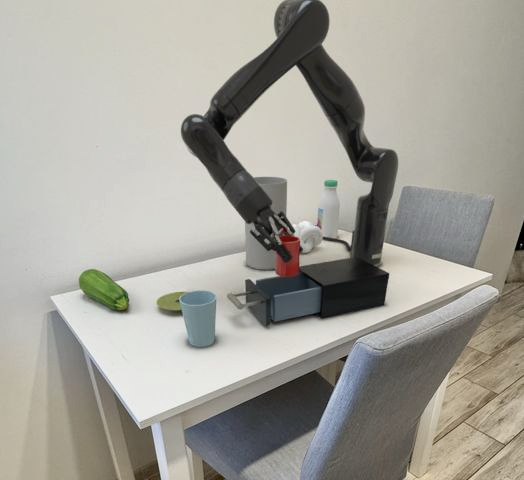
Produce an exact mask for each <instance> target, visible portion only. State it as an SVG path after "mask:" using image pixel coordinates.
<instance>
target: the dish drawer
mask: <svg viewBox="0 0 524 480" xmlns="http://www.w3.org/2000/svg"><path fill="white" fill-rule="evenodd" d="M321 293H322V287H320V286H319V285H317V284H316V283H315V282H313V281H312V280H310V279H309V278H307V277H306V276H304V275H303V274H302V273H299V274H298V275H296V276H293V277H282V276H278V275H277V276H272V277H271V276H270V277H265V278H260V279H255V283H254V282H253V281H252V280H251V279H249V278H248V279H245V280H244V291H242V292H238V293H232V292H228V293H227V295H226V298H227V299H228V300H229V302H231V303H232V304H233V305H234V306H235V308H236V309H237V310H239V311H242V310H244V308H246V307H247V309H249V310H250V312H252V314H254V315H255V317H257V318H258V319H259V321H260V322H261V323H262V324H263V325H264V326H265V327H270V326H271V325H272V323H271V322H272V321H273V322H280V321H286V320H290V319H294V318H299V317H303V316H308V315H313V314H315V313H318V312H320V307H321ZM242 296H245V303H242V302H241V301H240V300H239V299H238V297H242Z"/></svg>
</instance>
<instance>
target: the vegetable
mask: <svg viewBox="0 0 524 480" xmlns="http://www.w3.org/2000/svg"><path fill="white" fill-rule="evenodd" d="M78 286H79V289H80V290H81V291H82V292H83V293H84V295H86V296H87V297H90V298H92V299H93V300H96V301H97V302H99V303H102V304H104V305H106V306H107V307H109V308H110V309H111V310H117V311H124V310H126V309H127V308H128V307H129V306H130V298H129V293H128V292H127V290H126V289H125V288H123V287H122V286H121V285H119V284H118V283H117V282H115V280H114V279H112V278H111V277H110V276H109V275H108V274H106V273H105V272H103V271H101V270H98V269H95V268H90V269H86V270H84V271H83V272H82V273H81V274H80V275H79V277H78Z"/></svg>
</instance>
